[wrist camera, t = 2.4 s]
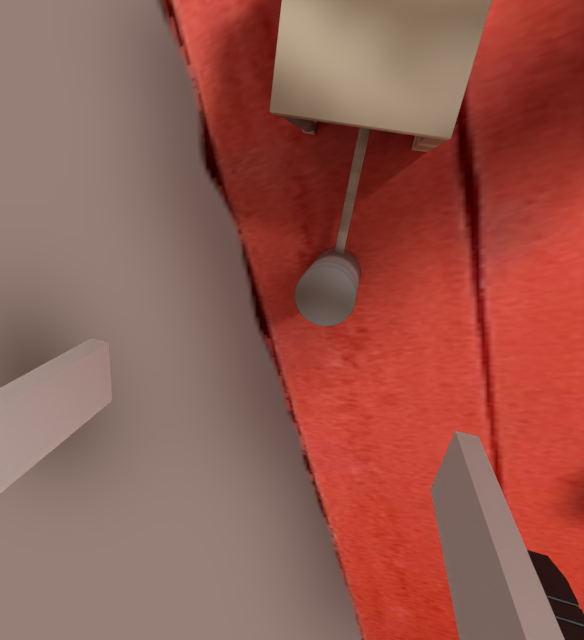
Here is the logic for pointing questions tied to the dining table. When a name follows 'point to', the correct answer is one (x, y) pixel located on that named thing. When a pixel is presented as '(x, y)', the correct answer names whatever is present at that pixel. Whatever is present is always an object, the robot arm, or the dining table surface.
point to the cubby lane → (377, 64)
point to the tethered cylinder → (334, 263)
